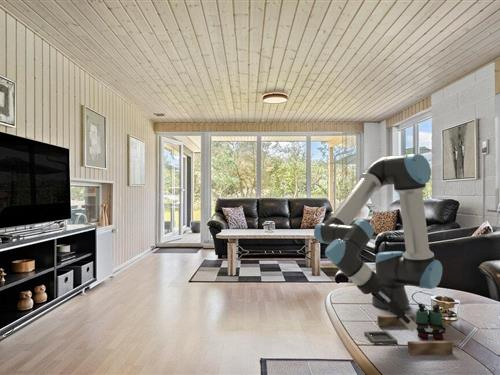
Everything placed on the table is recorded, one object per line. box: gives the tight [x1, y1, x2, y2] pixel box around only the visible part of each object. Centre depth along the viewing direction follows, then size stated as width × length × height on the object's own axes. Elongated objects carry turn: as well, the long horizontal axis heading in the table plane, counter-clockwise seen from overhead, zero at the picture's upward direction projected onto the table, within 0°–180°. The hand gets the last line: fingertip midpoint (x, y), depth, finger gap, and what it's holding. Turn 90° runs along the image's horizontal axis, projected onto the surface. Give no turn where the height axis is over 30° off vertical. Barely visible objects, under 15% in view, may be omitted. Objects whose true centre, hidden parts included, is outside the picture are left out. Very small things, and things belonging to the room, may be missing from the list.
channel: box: [376, 314, 454, 356], centre depth 120 cm, size 13×25×4 cm, turn 2°
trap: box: [363, 330, 398, 344], centre depth 120 cm, size 8×8×1 cm
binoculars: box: [414, 303, 447, 341], centre depth 120 cm, size 9×11×10 cm
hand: (414, 327), depth 119 cm, fingers closed
